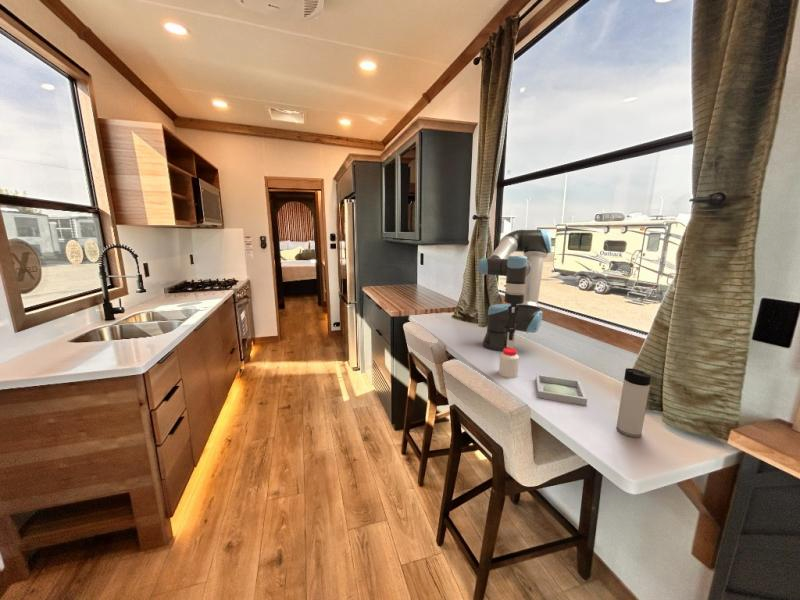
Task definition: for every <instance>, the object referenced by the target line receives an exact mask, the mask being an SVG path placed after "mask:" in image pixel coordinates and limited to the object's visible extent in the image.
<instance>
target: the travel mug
mask: <svg viewBox="0 0 800 600" xmlns="http://www.w3.org/2000/svg"><path fill="white" fill-rule="evenodd" d="M624 371H625V372H624V377H623V382H622V389H621V395H620V401H619V408H618V414H617V420H616V422H617V423H616V430H617V432H619V433H620V434H622V435H624V436H626V437H629V436H630V438H640V437H641V436H642V432H643V427H644V423H645V422H644V421H645V415H646V412H647V411H646V410H647V404H648V398H649V392H650V386H651V380H652V375H651V374H648V373H645V371H643V370H640V369H636V368H628V367H627V368H625V370H624Z"/></svg>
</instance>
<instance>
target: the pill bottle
mask: <svg viewBox="0 0 800 600" xmlns="http://www.w3.org/2000/svg"><path fill="white" fill-rule="evenodd" d="M499 356H500V357H499V364H498V365H499V367H498V368H499V369H498V374H499V375H500V376H502V377H504V378H509V379H510V378H512V379H513V378H517V377H518V375H519V363H520V356H519V354H518V350H517V349H515V348H504V349H503V351H502V352H501V353H500V355H499Z"/></svg>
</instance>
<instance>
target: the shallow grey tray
mask: <svg viewBox="0 0 800 600" xmlns="http://www.w3.org/2000/svg"><path fill="white" fill-rule="evenodd" d="M541 383H548V384H556V385H562V386H566V387H567V386H568V387H575V388H576V389H577V393H578V394H579V396H578V395H575V396H572V395H566V394H560V393H553V392H547V391H544V390H542V388H541ZM535 385H536V387H535V388H536V395H537V398H540V399H545V400H551V401H556V402H561V403H569V404H575V405H581V406H588V405H587V404H588V398H587V394H586V392H585V390H584V388H583V385H582V383H581V380H577V379H571V378H565V377H559V376H557V377H556V376H550V375H545V374H535Z"/></svg>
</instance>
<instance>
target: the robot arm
mask: <svg viewBox="0 0 800 600" xmlns="http://www.w3.org/2000/svg"><path fill="white" fill-rule="evenodd" d="M515 252H517V253H519V252H521V253H523V255H511V254H513V253H515ZM550 253H552V233H551V231H550V230H548V229H517V230H513V231H511V232H509V233H507V234H505V235H504V236H502V238H501V239H500V240H499V243H498V246H497V247H496V248H495V249H494V251H493V252H492V253H491V254H490V256H489V257H488V258H487V257H483V258H482V257H481V258H480V259H479V260H478V264H477V269H478V273H479V274H480V275H486V276H499V277H500V276H503V277H505V278H506V279H505V284H503V288H505V289H504V290H505V291H504V292H505V294H504V303H497V304H496V303H495V304H492V305H489V307H488V312H487V324H486V325H487V327H486V333H485V334H484V335H485V336H484V338H483V340H482V346H483V347H484V348H486V349H488V350H493V351H499V352H503V349H504V348H513V349H515V347H514V346H515V335H516V332H524V333H528V334H529V333H531V334H535V333H537V332H538V331H539V329H540V327H541V324H542V320H543V314H544V313H543V312H544V311H542V310H541V306H540V305H539V304H538V303H539V297H540V296H539V295H540V290H541V289H540V287H541V281H542V275H543V274H542V273H543V266H544V260H545V258H547V257H548V255H549V254H550Z"/></svg>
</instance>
